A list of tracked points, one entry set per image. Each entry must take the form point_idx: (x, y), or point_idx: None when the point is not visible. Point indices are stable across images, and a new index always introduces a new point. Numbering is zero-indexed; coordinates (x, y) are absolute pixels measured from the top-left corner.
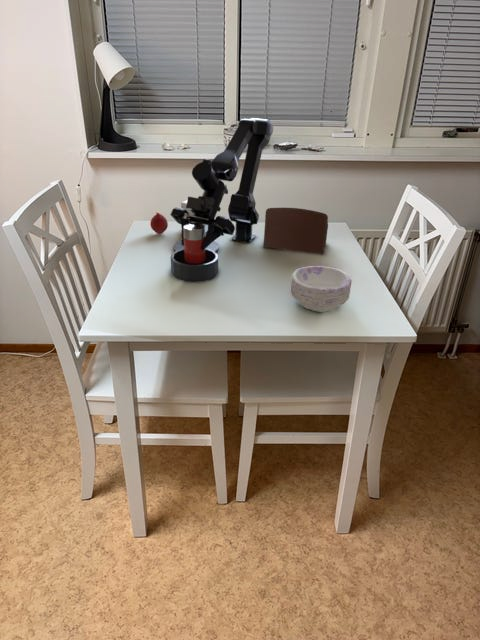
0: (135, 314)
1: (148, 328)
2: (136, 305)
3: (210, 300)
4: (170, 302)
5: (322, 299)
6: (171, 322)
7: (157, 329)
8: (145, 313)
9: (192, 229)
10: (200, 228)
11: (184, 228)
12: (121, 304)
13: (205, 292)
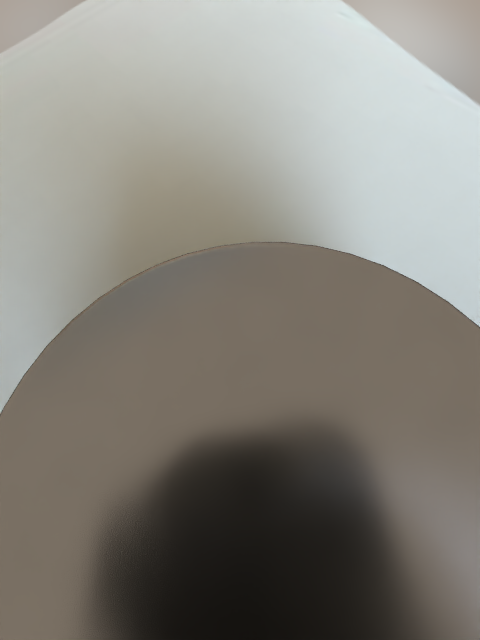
0: (197, 35)
1: (107, 16)
2: (239, 66)
3: (24, 248)
4: (153, 146)
5: None
6: (67, 70)
7: (80, 27)
8: (174, 55)
9: (147, 304)
10: (10, 494)
11: (353, 255)
12: (286, 43)
13: (79, 288)
